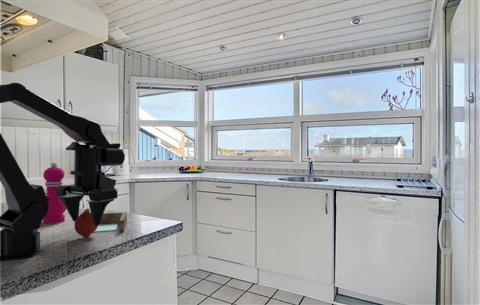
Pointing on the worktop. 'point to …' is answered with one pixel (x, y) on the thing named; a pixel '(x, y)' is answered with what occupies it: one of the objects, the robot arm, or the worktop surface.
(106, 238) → the worktop surface
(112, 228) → the pad
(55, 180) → the pepper mill
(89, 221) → the onion
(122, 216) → the arena
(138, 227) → the worktop surface
